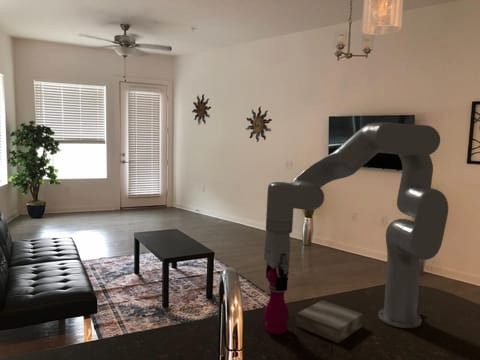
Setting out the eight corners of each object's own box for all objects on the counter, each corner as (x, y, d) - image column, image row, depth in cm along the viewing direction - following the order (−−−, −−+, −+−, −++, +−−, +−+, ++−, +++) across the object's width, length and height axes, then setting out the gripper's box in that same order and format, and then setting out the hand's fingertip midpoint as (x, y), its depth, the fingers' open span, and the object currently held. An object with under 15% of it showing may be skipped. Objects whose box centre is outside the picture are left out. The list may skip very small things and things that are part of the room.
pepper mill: (287, 336, 116) (289, 267, 114) (261, 333, 118) (263, 265, 115) (289, 325, 123) (291, 260, 121) (265, 322, 125) (267, 258, 123)
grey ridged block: (321, 312, 133) (322, 300, 133) (362, 326, 124) (362, 313, 123) (296, 326, 123) (296, 313, 122) (338, 343, 113) (338, 329, 113)
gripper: (258, 219, 125) (256, 274, 127) (275, 233, 108) (271, 296, 110) (282, 219, 126) (279, 273, 128) (302, 233, 109) (298, 295, 111)
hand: (276, 284), depth 119 cm, fingers open, 9 cm apart
